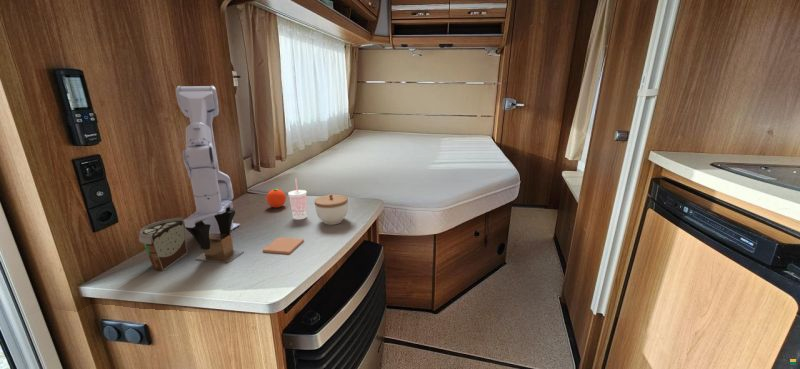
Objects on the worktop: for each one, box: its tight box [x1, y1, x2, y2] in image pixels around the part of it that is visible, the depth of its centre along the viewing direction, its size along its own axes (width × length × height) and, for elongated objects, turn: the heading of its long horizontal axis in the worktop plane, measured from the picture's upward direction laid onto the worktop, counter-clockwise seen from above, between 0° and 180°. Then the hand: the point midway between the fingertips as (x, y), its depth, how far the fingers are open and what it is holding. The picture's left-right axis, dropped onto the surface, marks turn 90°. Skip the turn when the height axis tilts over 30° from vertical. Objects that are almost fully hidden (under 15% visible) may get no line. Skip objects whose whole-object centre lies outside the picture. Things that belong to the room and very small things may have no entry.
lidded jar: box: [314, 193, 349, 225], centre depth 109 cm, size 11×11×9 cm
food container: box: [138, 217, 189, 272], centre depth 84 cm, size 12×6×10 cm, turn 178°
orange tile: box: [262, 236, 305, 255], centre depth 93 cm, size 1×8×8 cm
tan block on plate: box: [195, 233, 245, 264], centre depth 87 cm, size 10×6×6 cm, turn 78°
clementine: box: [266, 188, 287, 209], centre depth 125 cm, size 8×7×7 cm
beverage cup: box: [287, 177, 308, 220], centre depth 113 cm, size 6×6×14 cm
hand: (216, 242), depth 87 cm, fingers open, 7 cm apart
